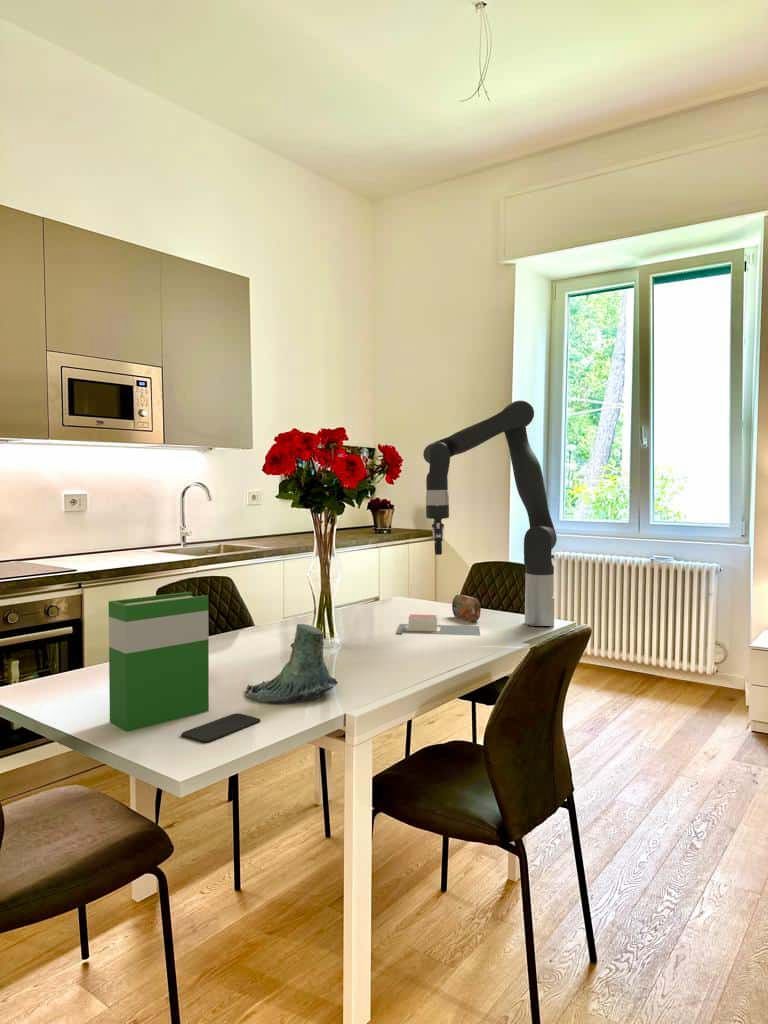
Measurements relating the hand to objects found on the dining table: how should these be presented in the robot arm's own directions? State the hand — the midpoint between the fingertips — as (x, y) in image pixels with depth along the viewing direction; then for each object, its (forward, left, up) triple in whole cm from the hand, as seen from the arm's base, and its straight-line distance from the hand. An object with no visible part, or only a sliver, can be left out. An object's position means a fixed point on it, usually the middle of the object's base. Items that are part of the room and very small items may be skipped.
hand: (438, 553), depth 234 cm
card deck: (+4, +7, -24) cm, 25 cm away
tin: (-10, -12, -24) cm, 29 cm away
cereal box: (+53, +97, -24) cm, 113 cm away
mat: (-1, +7, -24) cm, 25 cm away
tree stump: (+30, +77, -24) cm, 87 cm away
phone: (+38, +102, -25) cm, 112 cm away
